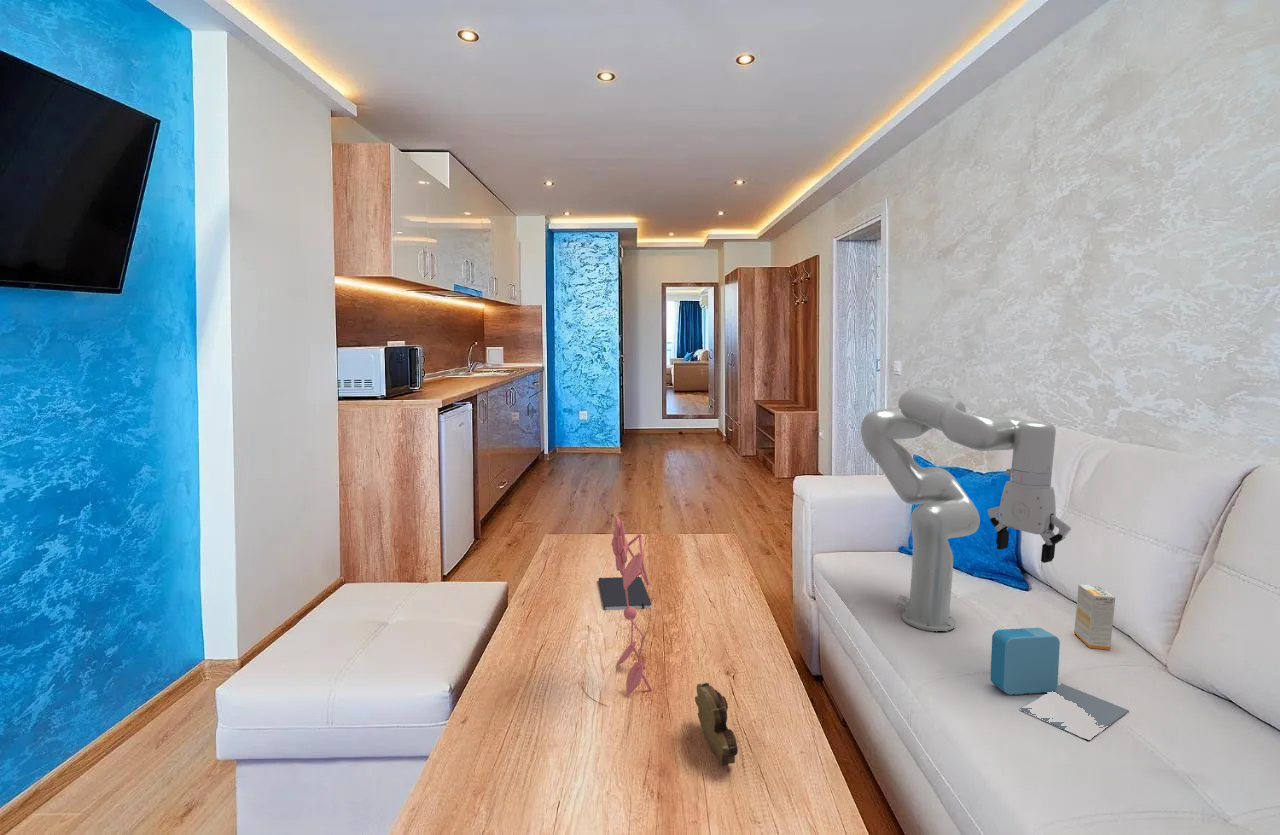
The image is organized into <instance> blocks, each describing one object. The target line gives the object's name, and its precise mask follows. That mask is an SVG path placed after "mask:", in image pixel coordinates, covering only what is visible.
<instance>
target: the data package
mask: <svg viewBox="0 0 1280 835" xmlns="http://www.w3.org/2000/svg"><path fill="white" fill-rule="evenodd" d="M1060 643H1061V641H1060V639H1059V638H1058V636H1056V635H1054V634H1053V633H1051V632H1049V631H1047V630H1045V629H1044V628H1042V627H1022V628H1006V629H1004V628H1003V629H997V630H995V631H994V632H993V633H992V636H991V655H990V682H991V684H993V685H994V686H996V687H997V688H998V689H1000V690H1001V691H1002V692H1003V693H1005V694H1006V695H1010V696H1011V695H1013V694H1015V695H1024V693H1029V694H1041V693H1042V692H1044V693H1047V692H1052V691H1054V690H1055V689H1056V688H1057V686H1058V685H1059V683H1058V682H1059V668H1060V667H1059V665H1060V664H1059V663H1060V647H1061V646H1060V645H1061V644H1060ZM1013 696H1014V695H1013Z"/></svg>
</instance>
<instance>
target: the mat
mask: <svg viewBox="0 0 1280 835" xmlns="http://www.w3.org/2000/svg"><path fill="white" fill-rule="evenodd" d="M1053 692H1056V693H1057V694H1059V695H1060V696H1063V697H1064V699H1065V700H1068V701H1072V702H1073V703H1076V704H1077V706H1078V707H1080V708H1083V709H1084V710H1085V712H1086V713H1088V716H1089V715H1090V714H1091V717H1094V718H1095V719H1094V720H1096V721H1097V722H1096V723H1095V724H1096V725H1098V726H1100V725H1104V726H1103V727H1106V726H1109V725H1110V724H1112V723H1113V724H1114V722H1115V723H1117V721H1119V720H1120V719H1121V718H1122V717H1124V716H1125V715H1126V713H1127V712H1128V713H1129V712H1130V709H1128V708H1127V709H1126V708H1124V707H1122V706H1119V705H1117V704H1114V703H1112V702H1109V701H1106V700H1105V699H1101V698H1099V697H1097V696H1094V695H1092V694H1090V693H1086V692H1084V691H1081V690H1080V689H1077V688H1074V687H1072V686H1069V685H1067V684H1064V683H1060V684H1058V685H1057V688H1056V689H1055V690H1054V691H1053ZM1019 709H1021V710H1022V711H1025V712H1027V713H1030V714H1032V713H1031V712H1030V710H1028V709H1032V708H1022V707H1020V708H1019ZM1022 711H1021V712H1022ZM1027 713H1026V714H1027ZM1128 713H1127V714H1128ZM1032 715H1036V714H1032ZM1036 717H1037V716H1036ZM1041 719H1043V720H1045V721H1048V720H1049V719H1050V718H1041ZM1052 719H1053V718H1052ZM1048 722H1049V721H1048ZM1050 723H1051V724H1053V725H1055V726H1057V727H1060V728H1062V729H1065V728H1066V727H1067V726H1061V724H1062V723H1064V722H1050ZM1097 723H1098V724H1097ZM1051 724H1050V725H1051ZM1113 724H1112V725H1113ZM1053 725H1052V726H1053ZM1055 726H1054V727H1055ZM1110 726H1111V725H1110ZM1110 726H1109V727H1110ZM1057 727H1056V728H1057ZM1103 727H1099V728H1103ZM1060 728H1059V729H1060ZM1062 729H1061V730H1062Z"/></svg>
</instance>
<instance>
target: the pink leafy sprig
mask: <svg viewBox="0 0 1280 835" xmlns="http://www.w3.org/2000/svg"><path fill="white" fill-rule="evenodd" d="M625 532H626V531H625V524H624V521H623V520H622V519H621V520H620V518H619V517H618V516H617V515H615V517H614V530H613V532H612V536H613V537H612V540H611V547H612V552H613V555H614V556H615V567H616V571H617V572H619V574H620V575H621V577H622V578H623V586H624V589H625V594H626V602H627V607H626V608H625V609H623V616H624V618H625V619H626V620H628V621H630V622H631V627H630V628H631V634H630V639H631V640H630V644H629V645H628V646H627V647H626V649H625V650H624V651H623V652H622V654H621V655H620V657H619V659H618V661H617V662H616V665H617V666H619V665H621V664H623V663H624V662H625V661H626V660H627V659H628V658H629V657H630V655H632V654H631V653H632V652H633V653H634V654H635V657H636V658H637V662H635V663H634V664H633V666H631V668H630V669H629V671H628V673H627V677H626V681H625V683H626V684H625V685H626V687H625V688H626V689H625V691H626V696H629V695H630V694H632V693H633V692H634V691H635V690H636V689H637V688H638V687H639V685H640V683H641V682H642V680H643V681H644V683H645V684H646V687H647V688H648V690H649V691H650V692H651V691H652V690H653V688H652V687H651V685H650V682H649V681H648V680H647V677H646V676H645V674H644V669H646V665H645V663H644V661H643V660H642V658H641V655H646V652H645V653H644V652H642V648H643V645H644V639H645V635H644V633H643V632H642V631H641V630H640V628H639V627H638V625H637V624H636V623H635V622H634V620H635V618H637V610H636V609H635V608H634V607H631V606H630V607H629V603H628V591H627V588H628V587H629V586H630V584H631V583H632V582H633V581H634V580H635V579H636V577H640V576H642V580H644V581H643V582H644V583H645V584H646V586H647V587H648V586H650V582H649V578H648V575H647V571H646V568H645V562H644V560H645V559H644V551H643V550H644V549H643V542H642V541H643V540H642V536H643V534H642V533H638V534H637V536H635V537H634V538H633V539H632V540H630V541H629V542H628V540H627V538H626V533H625ZM637 540H638V541H639V552H637V553H636V555H635V554H634V553H633V551H632V549H631V548H630V546H631V545H632V544H634V543H635V541H637ZM628 553H629V554H630V555H631V559H630V560H629V562H628ZM627 562H628V563H627ZM626 564H627V565H626ZM634 627H635V629H636V630H637V631H638V633H639V634H640V635H641V643H640V646H639V652H638V650H637V649H636V645H637V642H636V641H633V640H634V638H633V637H634ZM586 672H587V670H585V671H584V673H583V675H582V676H584V675H585V673H586ZM581 687H582V690H583V691H584V693H585V694H586V695H588V693H587V691H585V689H584V687H583V686H581ZM586 698H587V699H588V700H593V701H594V702H596V703H598V704H600V705H602V706H605V707H608V705H606V704H604V703H601V702H599V701H597V700H595V699H594V698H592V697H591V696H589V695H588V696H587V697H586Z"/></svg>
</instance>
